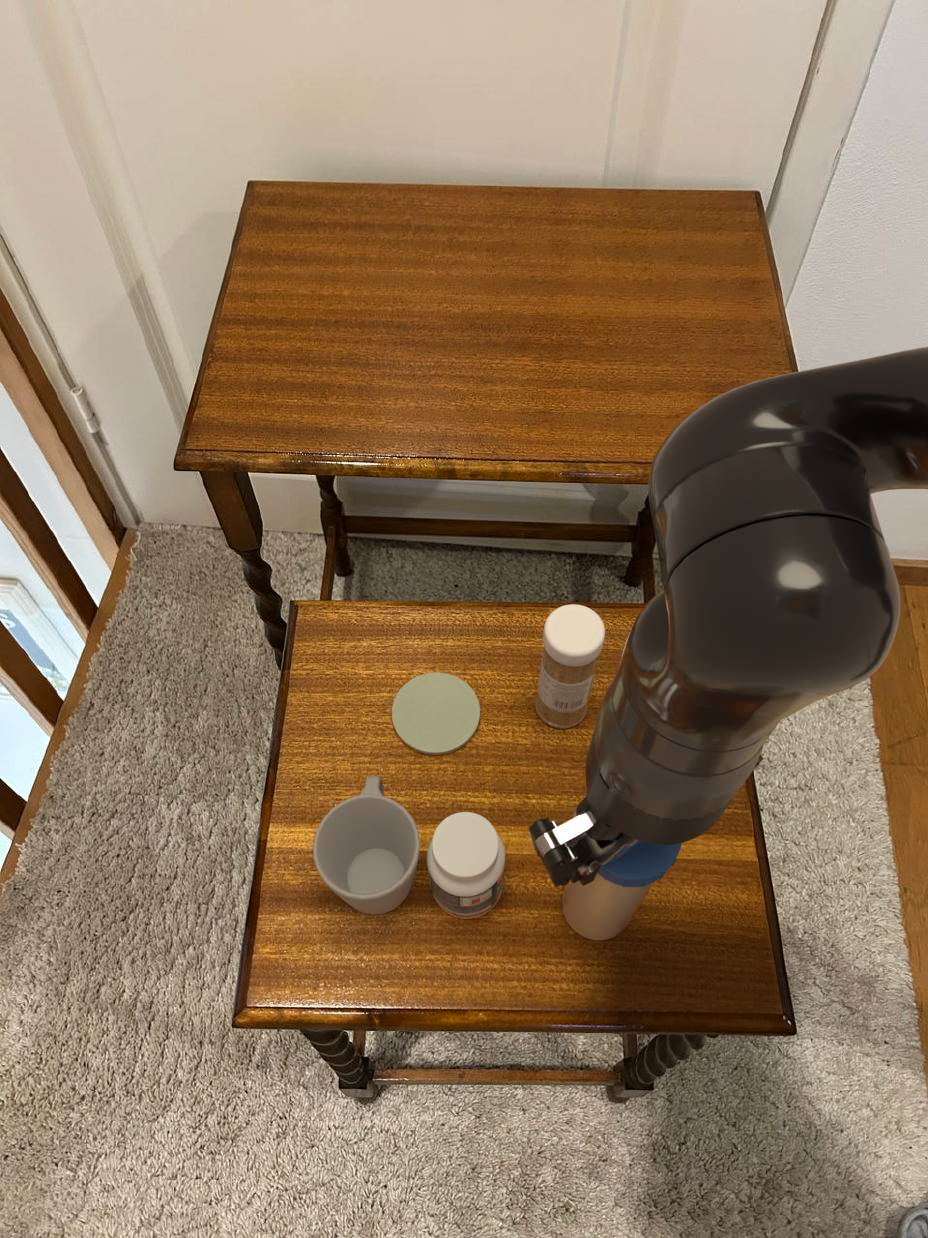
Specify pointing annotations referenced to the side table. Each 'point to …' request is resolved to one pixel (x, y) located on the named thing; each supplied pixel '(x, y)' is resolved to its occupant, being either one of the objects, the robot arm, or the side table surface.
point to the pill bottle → (466, 865)
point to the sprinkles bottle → (568, 664)
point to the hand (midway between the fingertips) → (622, 846)
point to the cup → (368, 850)
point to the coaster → (436, 713)
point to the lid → (640, 864)
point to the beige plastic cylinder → (600, 907)
